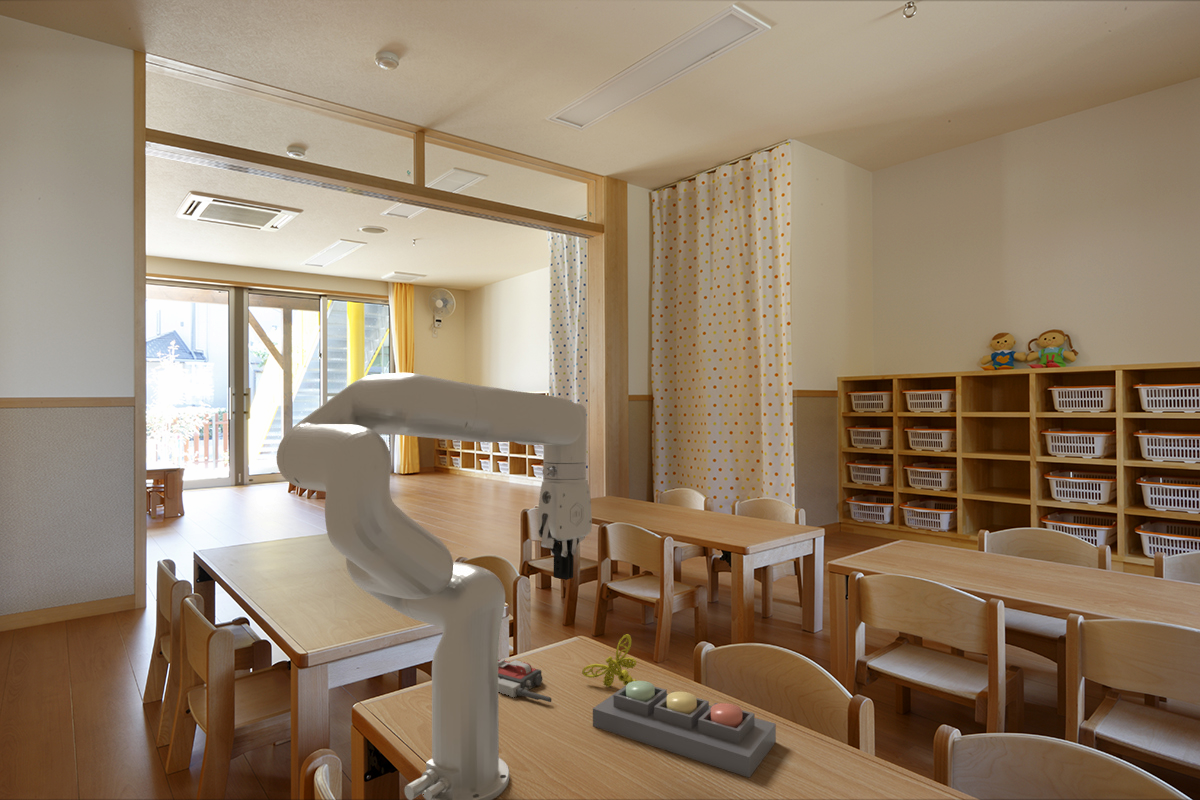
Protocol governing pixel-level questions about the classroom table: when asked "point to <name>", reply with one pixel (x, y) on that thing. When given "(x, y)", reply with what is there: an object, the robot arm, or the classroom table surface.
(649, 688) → the sage button
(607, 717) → the button panel
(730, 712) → the red button
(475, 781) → the robot arm
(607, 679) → the decorative insect
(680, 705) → the mustard button
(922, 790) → the classroom table surface
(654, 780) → the classroom table surface
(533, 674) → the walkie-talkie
